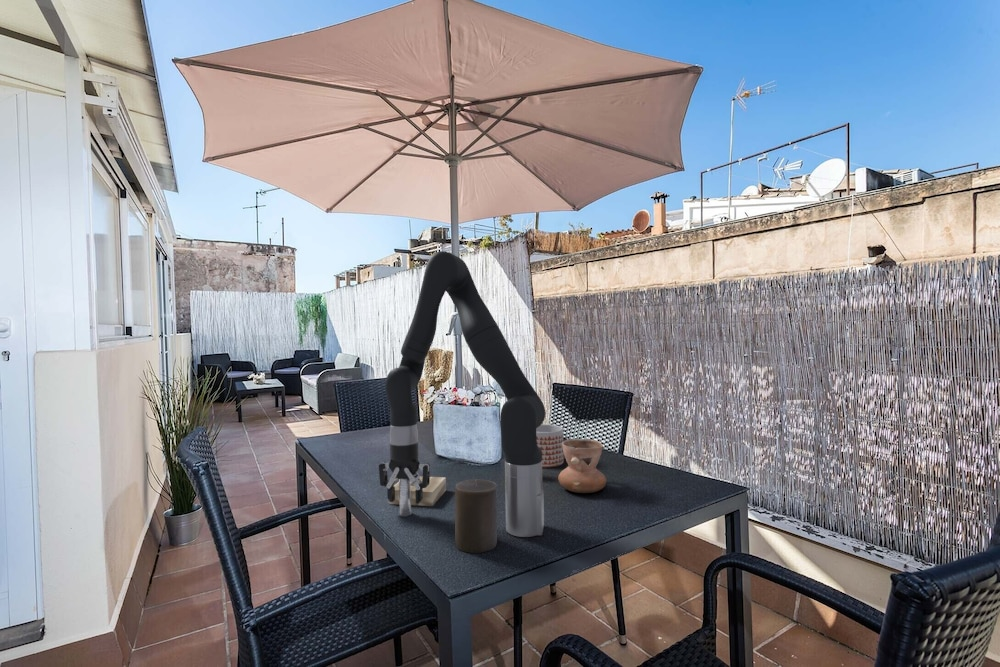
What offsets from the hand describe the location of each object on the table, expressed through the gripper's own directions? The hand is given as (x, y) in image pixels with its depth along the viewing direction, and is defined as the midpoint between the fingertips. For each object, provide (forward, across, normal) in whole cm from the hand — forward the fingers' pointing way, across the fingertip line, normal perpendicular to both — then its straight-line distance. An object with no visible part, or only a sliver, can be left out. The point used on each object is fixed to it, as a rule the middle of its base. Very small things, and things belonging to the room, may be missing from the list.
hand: (405, 501), depth 129 cm
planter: (+4, -33, -53) cm, 63 cm away
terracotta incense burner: (+4, -47, -27) cm, 54 cm away
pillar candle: (+4, -23, +14) cm, 27 cm away
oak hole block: (+3, +1, -13) cm, 13 cm away
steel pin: (+3, 0, 0) cm, 3 cm away
